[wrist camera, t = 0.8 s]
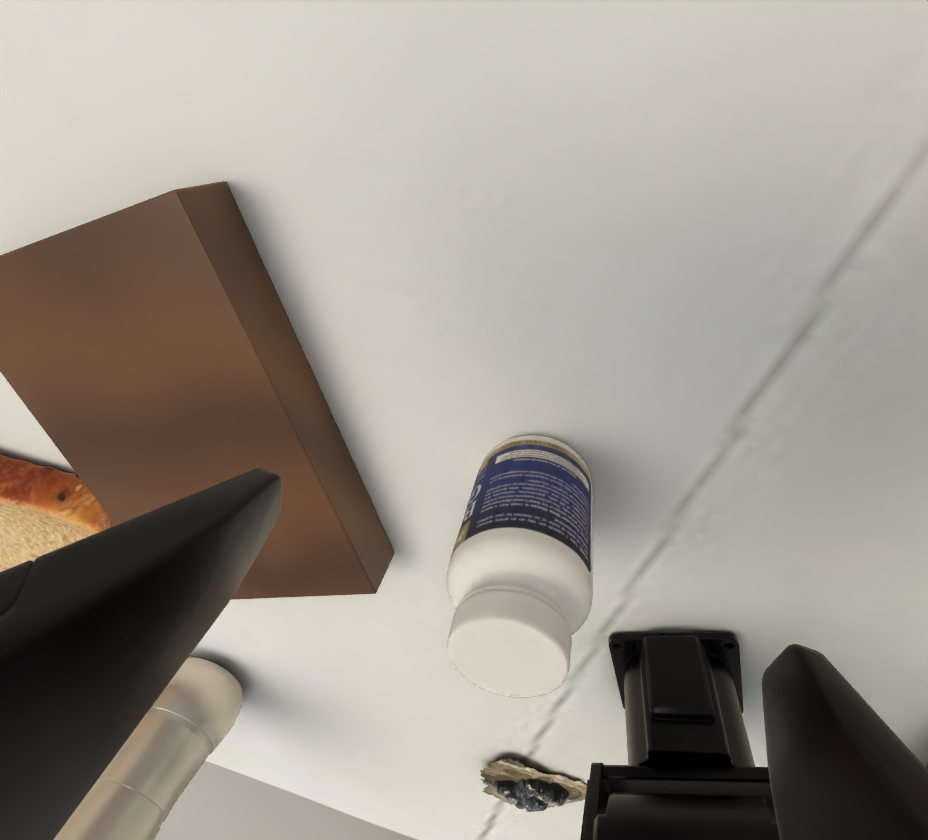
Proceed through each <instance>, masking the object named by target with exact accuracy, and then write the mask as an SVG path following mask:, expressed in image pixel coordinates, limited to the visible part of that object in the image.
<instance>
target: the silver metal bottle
mask: <svg viewBox="0 0 928 840" xmlns="http://www.w3.org/2000/svg"><path fill="white" fill-rule="evenodd" d="M241 707H242V687H241V685H240V683H239V682H238V681H237V679H236V678H235V677H234V676H233V675H232V674H231V673H229V672H228V671H227V670H226V669H224V668H222V667H221V666H219V665H217V664H215V663H213V662H211V661H208V660H205V659H202V658H196V657H189V658H187V659H186V661H185V662H184V664H183V665H182V666H181V668H180V669H179V670H178V672H177V673H176V674H175V676H174V677H173V678H172V680H171V681H170V683H169V684H168V685H167V687H166V688H165V689H164V691H163V692H162V693H161V695H160V696H159V697H158V699H157V700H156V701H155V703H154V704H153V706H152V707H151V708H150V710H149V711H148V712H147V714H146V715H145V716H144V718H143V719H142V720H141V722H140V723H139V724H138V726H137V727H136V729H135V730H134V731H133V733H132V734H131V735H130V737H129V738H128V739H127V741H126V742H125V743H124V745H123V746H122V748H121V749H120V750H119V752H118V753H117V754H116V756H115V757H114V758H113V760H112V761H111V762H110V764H109V765H108V766H107V768H106V769H105V771H104V772H103V773H102V775H101V776H100V777H99V779H98V780H97V781H96V783H95V784H94V785H93V787H92V788H91V790H90V791H89V792H88V794H87V795H86V796H85V798H84V799H83V800H82V802H81V803H80V804H79V806H78V807H77V808H76V810H75V811H74V813H73V814H72V815H71V817H70V818H69V819H68V821H67V822H66V823H65V825H64V826H63V827H62V829H61V830H60V832H59V833H58V834H57V836H56V837H55V838H54V840H154V839H155V837H156V835H157V833H158V832H159V830H160V826H161V824H162V822H164V821H165V819H166V818H167V816H168V814H169V812H170V810H171V809H172V807H173V805H174V804H175V802H176V801H177V799H178V798H179V796H180V795H181V794H182V792H183V791H184V789H185V788H186V787H187V785H188V784H189V782H190V781H191V779H192V778H193V777H194V775H195V774H196V772H197V771H198V770H199V768H200V767H201V765H202V764H203V762H204V761H205V760H206V758H207V757H208V755H209V754H211V753H212V752H213V751H214V750H215V748H216V747H217V746H218V745H219V744H220V743H221V741H222V740H223V739H224V737H225V736H226V735H227V733H228V732H229V731H230V729H231V728H232V727H233V725H234V723H235V721H236V718H237V716H238V714H239V711H240V709H241Z"/></svg>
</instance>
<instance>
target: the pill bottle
mask: <svg viewBox="0 0 928 840" xmlns="http://www.w3.org/2000/svg"><path fill="white" fill-rule="evenodd" d="M592 495H593V492H592V479H591V475H590V472H589V470H588V467H587V466H586V464H585V462H584V461H583V459H582V458H581V457H580V456H579V455H578V454H577V453H576V452H575V451H574V450H573V449H572V448H570V447H569V446H567V445H566V444H564V443H562V442H560V441H558V440H555V439H552V438H549V437H544V436H537V435H527V436H519V437H515V438H511V439H509V440H506V441H504V442H502V443H500V444H499V445H497V446H496V447H495V448H493V449H492V450H491V451H490V452H489V453H488V455H487V456H486V457H485V459H484V461H483V462H482V465H481V467H480V469H479V472H478V475H477V478H476V481H475V484H474V487H473V490H472V493H471V497H470V500H469V502H468V505H467V509H466V512H465V515H464V519H463V522H462V525H461V528H460V531H459V534H458V537H457V540H456V543H455V546H454V549H453V553H452V556H451V559H450V563H449V568H448V572H447V589H448V593H449V596H450V599H451V602H452V604H453V606H454V607H455V609H456V611H455V613H454V616H453V620H452V625H451V629H450V633H449V637H448V642H447V652H448V656H449V659H450V661H451V663H452V664H453V666H454V667H455V669H456V670H457V671H458V672H459V673H460V674H461V675H462V676H463V677H464V678H466V679H467V680H468V681H470V682H471V683H473V684H475V685H476V686H478V687H480V688H482V689H485V690H487V691H490V692H493V693H496V694H500V695H504V696H509V697H521V698H527V697H536V696H541V695H545V694H547V693H550V692H552V691H554V690H556V689H557V688H559V687H560V686H561V685H562V684H563V683H564V681H565V680H566V678H567V675H568V672H569V666H570V652H571V644H572V638H571V635H573V634H574V633H575V632H576V631H577V630H578V629H579V628H580V627H581V626H582V625H583V623H584V622H585V620H586V619H587V617H588V614H589V612H590V609H591V604H592V592H593V576H592Z"/></svg>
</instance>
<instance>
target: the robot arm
mask: <svg viewBox="0 0 928 840" xmlns="http://www.w3.org/2000/svg"><path fill="white" fill-rule="evenodd" d="M281 501H282V478H281V476H280V475H279V474H278V473H275V472H271V471H268V470H265V469H262V468H258V469H254V470H252V471H249V472H247V473H244V474H242V475H239V476H237V477H234V478H232V479H229V480H227V481H224V482H222V483H220V484H217V485H215V486H212V487H210V488H207V489H205V490H202V491H200V492H197V493H195V494H192V495H190V496H187V497H185V498H182V499H180V500H177V501H175V502H173V503H170V504H168V505H165V506H163V507H160V508H158V509H155V510H153V511H150V512H148V513H145V514H143V515H140V516H138V517H135V518H133V519H131V520H128V521H126V522H123V523H121V524H118V525H116V526H113V527H111V528H108V529H106V530H103V531H101V532H98V533H96V534H93V535H91V536H88V537H86V538H84V539H81V540H79V541H76V542H74V543H71V544H69V545H66V546H64V547H61V548H59V549H56V550H54V551H51V552H49V553H46V554H44V555H41V556H39V557H37V558H36V559H35V560H34V561H32V560H29V561H26V562H24V563H21V564H19V565H16V566H14V567H11V568H9V569H6V570H4V571H1V572H0V840H54V838H55V837H56V836H57V834H58V833H59V832H60V830H61V829H62V827H63V826H64V825H65V823H66V822H67V821H68V819H69V818H70V817H71V815H72V814H73V813H74V811H75V810H76V808H77V807H78V806H79V804H80V803H81V802H82V800H83V799H84V798H85V796H86V795H87V794H88V792H89V791H90V790H91V788H92V787H93V785H94V784H95V783H96V781H97V780H98V779H99V777H100V776H101V775H102V773H103V772H104V771H105V769H106V768H107V766H108V765H109V764H110V762H111V761H112V760H113V758H114V757H115V756H116V754H117V753H118V752H119V750H120V749H121V748H122V746H123V745H124V743H125V742H126V741H127V739H128V738H129V737H130V735H131V734H132V733H133V731H134V730H135V729H136V727H137V726H138V724H139V723H140V722H141V720H142V719H143V718H144V716H145V715H146V714H147V712H148V711H149V710H150V708H151V707H152V706H153V704H154V703H155V701H156V700H157V699H158V697H159V696H160V695H161V693H162V692H163V691H164V689H165V688H166V687H167V685H168V684H169V683H170V681H171V680H172V678H173V677H174V676H175V674H176V673H177V672H178V670H179V669H180V668H181V666H182V665H183V664H184V662H185V661H186V659H187V658H188V657H189V655H190V654H191V653H192V651H193V650H194V649H195V647H196V646H197V645H198V643H199V642H200V641H201V639H202V638H203V636H204V635H205V634H206V632H207V631H208V630H209V628H210V627H211V626H212V624H213V623H214V622H215V620H216V619H217V617H218V616H219V615H220V613H221V612H222V611H223V609H224V608H225V607H226V605H227V604H228V602H229V601H230V600H231V598H232V597H233V595H234V594H235V592H236V590H237V589H238V587H239V586H240V584H241V582H242V581H243V579H244V577H245V575H246V574H247V572H248V570H249V569H250V567H251V565H252V563H253V562H254V560H255V558H256V557H257V555H258V553H259V551H260V550H261V548H262V546H263V545H264V543H265V541H266V539H267V538H268V536H269V534H270V533H271V531H272V529H273V527H274V526H275V524H276V522H277V520H278V518H279V515H280V512H281ZM609 648H610V652H611V656H612V661H613V665H614V669H615V674H616V678H617V682H618V686H619V691H620V695H621V699H622V703H623V707H624V709H625V713H626V731H627V749H628V765H604V764H603V763H592V764H591V773H590V780H588V781H587V790H586V798H585V806H584V815H583V823H582V831H581V840H928V770H927V769H926V768H925V766H924V765H923V764H922V763H921V762H920V761H919V760H918V759H917V758H916V756H915V755H914V754H913V753H912V752H911V751H910V750H909V749H908V748H907V747H906V745H905V744H904V743H903V742H902V741H901V740H900V739H899V738H898V737H897V736H896V734H895V733H894V732H893V731H892V730H891V729H890V728H889V727H888V726H887V725H886V723H885V722H884V721H883V720H882V719H881V718H880V717H879V716H878V715H877V713H876V712H875V711H874V710H873V709H872V708H871V707H870V706H869V705H868V704H867V702H866V701H865V700H864V699H863V698H862V697H861V696H860V695H859V694H858V693H857V691H856V690H855V689H854V688H853V687H852V686H851V685H850V684H849V683H848V682H847V680H846V679H845V678H844V677H843V676H842V675H841V674H840V673H839V672H838V671H837V669H836V668H835V667H834V666H833V665H832V664H831V663H830V662H829V661H828V659H827V658H826V657H825V656H824V655H823V654H821V653H820V652H818V651H816V650H813V649H810V648H807V647H804V646H801V645H798V644H792V645H789V646H788V647H786V648H785V650H784V651H783V652H782V653H781V654H780V655H779V656H778V657H777V658H776V659H775V660H774V661H773V662H772V663H771V664H770V666H769V667H768V668H767V669H766V670H765V672H764V674H763V678H762V695H763V708H764V721H765V734H766V746H767V759H768V767H755V764H754V760H753V756H752V752H751V748H750V744H749V740H748V736H747V732H746V728H745V725H744V721H743V717H742V713H743V697H742V683H741V668H740V653H739V644H738V640H737V637H736V636H735V635H734V634H731V633H636V634H613V635H611V636H610V637H609Z"/></svg>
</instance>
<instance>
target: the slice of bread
mask: <svg viewBox="0 0 928 840" xmlns="http://www.w3.org/2000/svg"><path fill="white" fill-rule="evenodd" d="M113 526H116V525H115V524H114V522H113V521H112V520H111V518H110V517H109V516H108V514H107V513H106V512H105V510H104V509H103V508H102V506H101V505H100V504H99V502H98V501H97V500H96V498H95V497H94V496H93V494H92V493H91V492H90V490H89V489H88V488H87V486H86V485H85V484H84V482H83V481H82V480H81V478H80V477H79V476H78V474H76V473H66V472H63V471H60V470H58V469H56V468H54V467H51V466H39V465H35V464H33V463H30V462H28V461H25V460H18V459H12V458H9V457H7V456H4V455H1V454H0V572H1V571H4V570H6V569H9V568H11V567H14V566H16V565H19V564H21V563H24V562H26V561H29V560H32V561H34V560H35V559H36V558H37V557H39V556H41V555H44V554H46V553H49V552H51V551H54V550H56V549H59V548H61V547H64V546H66V545H69V544H71V543H74V542H76V541H79V540H81V539H84V538H86V537H88V536H91V535H93V534H96V533H98V532H101V531H103V530H106V529H108V528H111V527H113Z"/></svg>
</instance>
